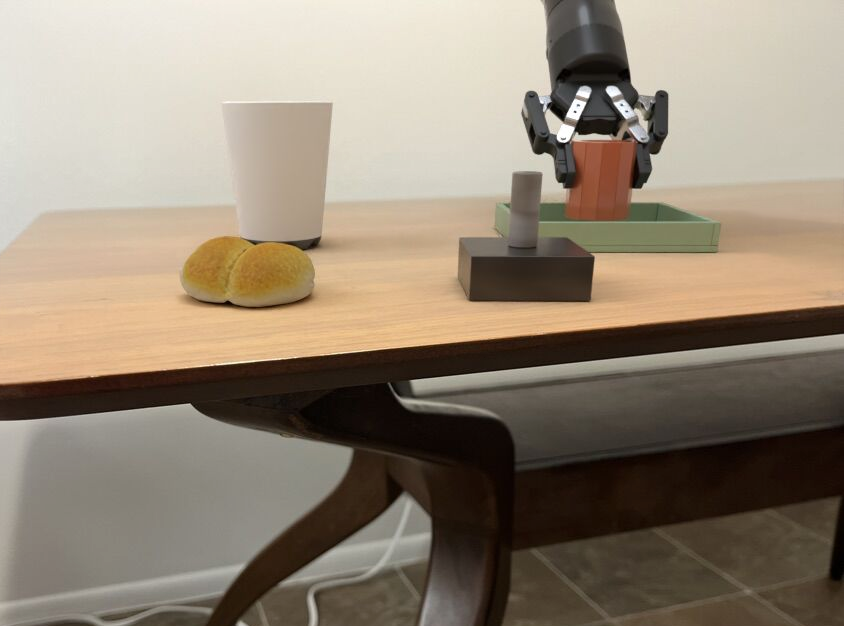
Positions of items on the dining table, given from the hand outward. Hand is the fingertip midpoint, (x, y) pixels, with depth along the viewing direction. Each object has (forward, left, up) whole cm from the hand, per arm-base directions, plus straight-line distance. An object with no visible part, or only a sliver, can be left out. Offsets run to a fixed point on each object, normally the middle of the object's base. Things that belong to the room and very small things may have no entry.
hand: (605, 182), depth 75 cm
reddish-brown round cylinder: (0, -2, -3) cm, 4 cm away
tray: (0, -2, -5) cm, 6 cm away
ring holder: (+11, +21, -5) cm, 24 cm away
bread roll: (+30, +23, -6) cm, 38 cm away
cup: (+30, +2, -6) cm, 31 cm away
